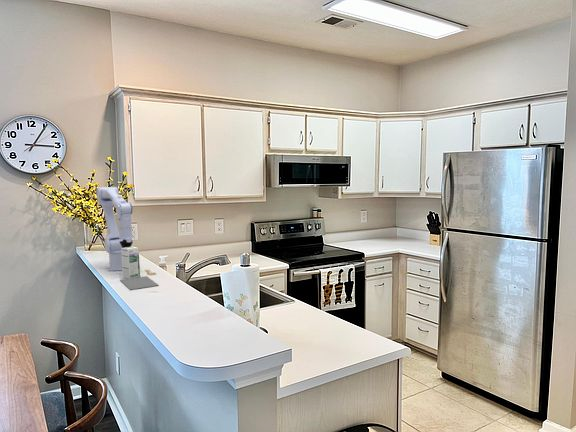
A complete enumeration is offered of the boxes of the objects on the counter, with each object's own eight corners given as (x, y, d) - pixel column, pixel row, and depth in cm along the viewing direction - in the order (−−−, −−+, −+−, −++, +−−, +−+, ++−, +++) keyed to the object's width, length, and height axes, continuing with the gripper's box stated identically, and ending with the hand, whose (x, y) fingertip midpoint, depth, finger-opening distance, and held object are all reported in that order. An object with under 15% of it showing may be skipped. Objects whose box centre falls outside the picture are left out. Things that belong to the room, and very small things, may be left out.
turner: (142, 271, 212) (142, 269, 212) (149, 270, 214) (149, 268, 214) (149, 275, 201) (149, 274, 201) (156, 274, 203) (156, 273, 203)
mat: (120, 280, 192) (120, 279, 192) (146, 277, 198) (146, 276, 198) (130, 290, 175) (130, 289, 175) (158, 285, 182) (158, 285, 181)
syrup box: (129, 279, 194) (128, 248, 193) (122, 277, 198) (121, 247, 196) (140, 276, 199) (139, 246, 197) (133, 275, 202) (131, 245, 201)
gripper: (137, 228, 199) (138, 256, 200) (130, 225, 211) (131, 252, 212) (121, 229, 195) (123, 258, 196) (115, 226, 207) (117, 253, 208)
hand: (126, 255), depth 204 cm, fingers closed
